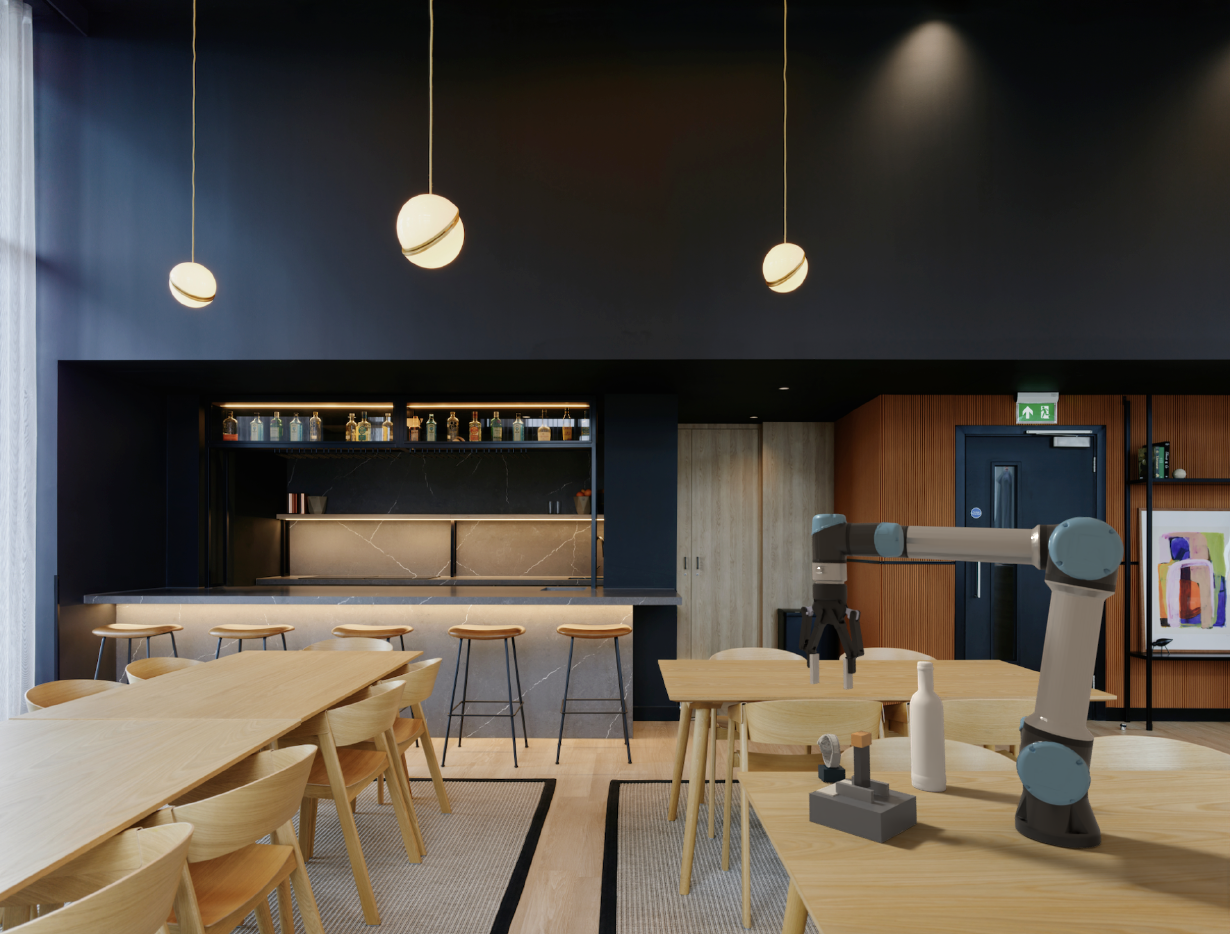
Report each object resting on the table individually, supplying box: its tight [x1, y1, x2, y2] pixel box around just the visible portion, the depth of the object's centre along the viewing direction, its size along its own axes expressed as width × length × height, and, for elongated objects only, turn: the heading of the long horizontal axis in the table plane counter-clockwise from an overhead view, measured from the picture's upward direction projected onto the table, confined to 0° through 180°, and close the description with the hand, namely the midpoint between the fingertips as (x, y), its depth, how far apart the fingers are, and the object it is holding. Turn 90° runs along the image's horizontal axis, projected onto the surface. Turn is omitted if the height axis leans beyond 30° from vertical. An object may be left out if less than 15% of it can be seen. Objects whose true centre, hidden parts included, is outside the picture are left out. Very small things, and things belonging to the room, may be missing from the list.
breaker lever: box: [850, 730, 873, 788], centre depth 157 cm, size 2×4×11 cm, turn 134°
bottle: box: [909, 660, 947, 793], centre depth 182 cm, size 8×8×30 cm
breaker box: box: [808, 774, 918, 844], centre depth 156 cm, size 16×16×8 cm
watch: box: [816, 733, 847, 784], centre depth 186 cm, size 6×8×11 cm
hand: (831, 685), depth 164 cm, fingers open, 8 cm apart
